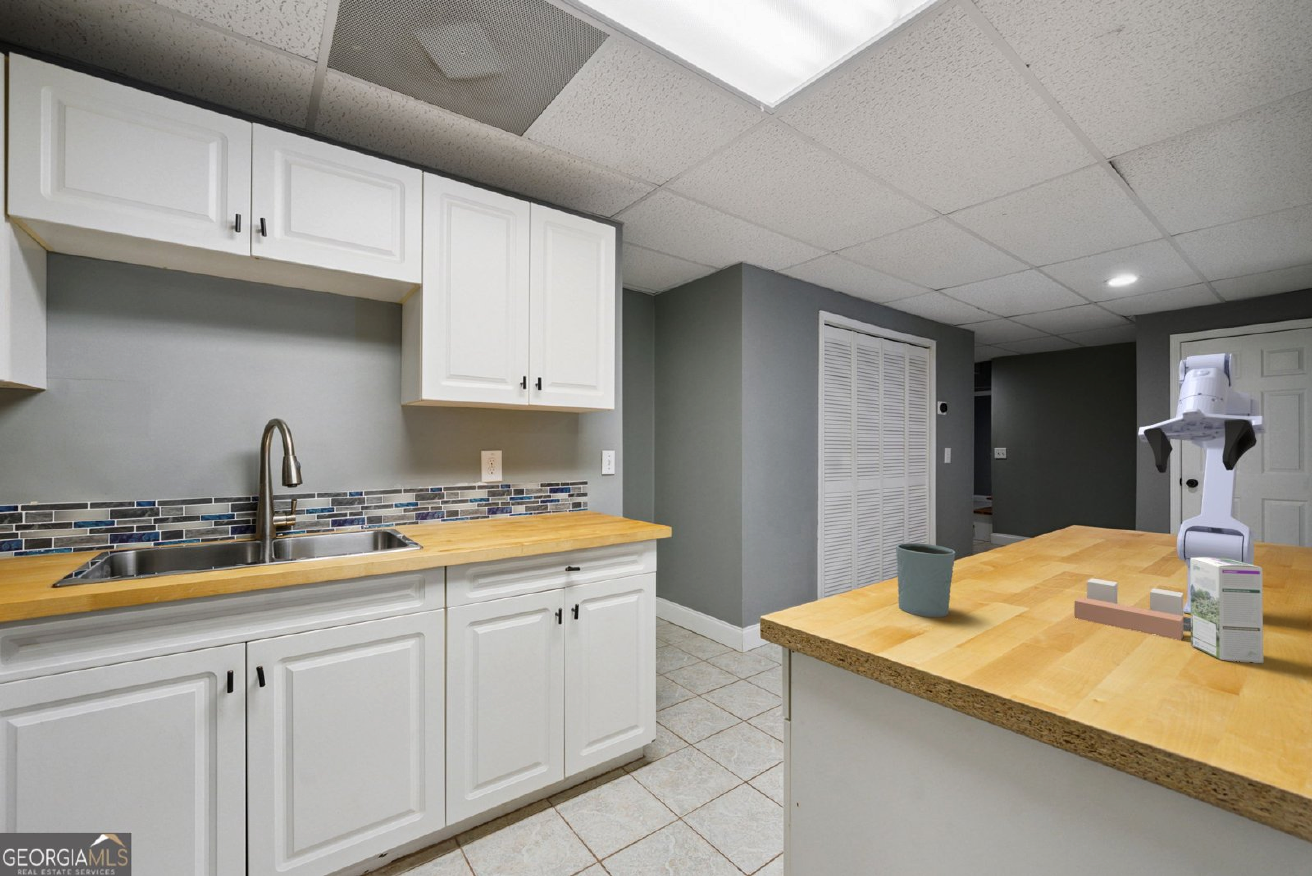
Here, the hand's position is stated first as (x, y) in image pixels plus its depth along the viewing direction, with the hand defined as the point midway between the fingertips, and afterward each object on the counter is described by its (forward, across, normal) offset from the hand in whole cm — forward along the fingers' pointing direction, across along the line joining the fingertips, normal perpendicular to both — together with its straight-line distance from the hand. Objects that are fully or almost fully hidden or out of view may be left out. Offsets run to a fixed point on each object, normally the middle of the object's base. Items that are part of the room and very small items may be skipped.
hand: (1192, 467), depth 83 cm
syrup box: (+20, 0, +21) cm, 29 cm away
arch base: (+12, -14, +28) cm, 33 cm away
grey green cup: (+31, -36, +3) cm, 48 cm away
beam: (+18, -12, +22) cm, 31 cm away
